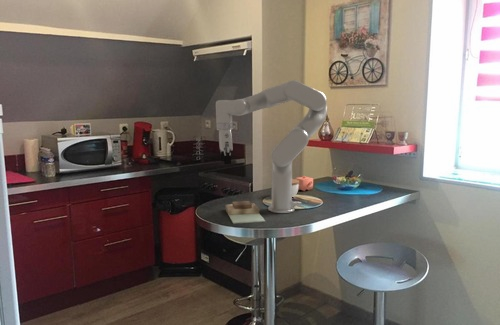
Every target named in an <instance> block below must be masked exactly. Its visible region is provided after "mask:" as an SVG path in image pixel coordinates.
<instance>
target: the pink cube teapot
mask: <svg viewBox="0 0 500 325" xmlns="http://www.w3.org/2000/svg"><path fill="white" fill-rule="evenodd" d="M294 179H296V180H299V188H298V191H302V192H306V190H307V191H311V189H314V178H313V177H309V176H306V175H302V176H300V177H295V178H294Z"/></svg>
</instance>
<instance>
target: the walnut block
mask: <svg viewBox="0 0 500 325" xmlns="http://www.w3.org/2000/svg"><path fill="white" fill-rule="evenodd" d="M251 203H252V202H251V201H250V200H242V201H241V200H240V201H239V200H237V201H232V203H231V204H232V205H233V207H234V209H247V208H252V204H251Z"/></svg>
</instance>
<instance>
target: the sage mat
mask: <svg viewBox="0 0 500 325" xmlns="http://www.w3.org/2000/svg"><path fill="white" fill-rule="evenodd" d="M228 216H229V218H230V220H231V222H232V224H233V225H235V224H248V223H249V224H250V223H262V222H263V223H265V222H266V220H265V218H264V217H263V216H262V215H261V214H260V213H259V214H242V215H228Z"/></svg>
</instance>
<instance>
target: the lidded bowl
mask: <svg viewBox="0 0 500 325" xmlns="http://www.w3.org/2000/svg"><path fill="white" fill-rule="evenodd" d="M298 188H299V180H296V179H295V178H292V197H295V196H296V195H297V193H298V191H299V190H298Z"/></svg>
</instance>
